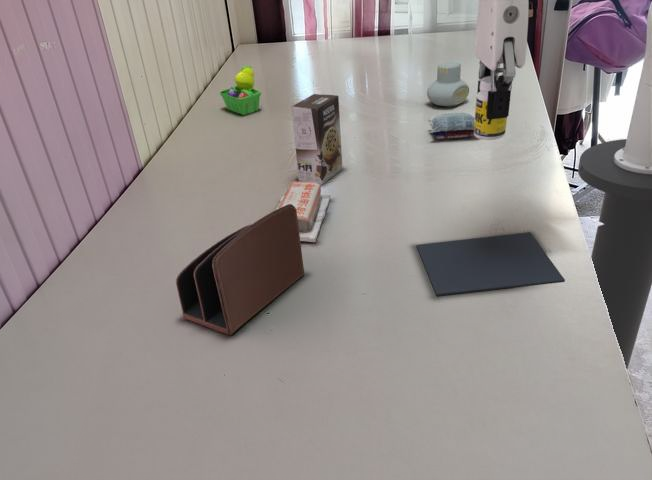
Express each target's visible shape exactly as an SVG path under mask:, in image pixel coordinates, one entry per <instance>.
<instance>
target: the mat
mask: <svg viewBox="0 0 652 480" xmlns="http://www.w3.org/2000/svg"><path fill="white" fill-rule="evenodd" d="M416 249H417V252H418V254H419V257H420V259H421V261H422V264H423V266H424V268H425V269H424V270H425V271H426V274H427V276H428V278H429V281H430V283H431V286H432V288H433V291H434V293H435V295H436V297H441V296H450V295H451V296H453V295H461V294H468V293H469V294H470V293H478V292H486V291H487V292H488V291H496V290H507V289H514V288H522V287H523V288H524V287H532V286H542V285H550V284H551V285H552V284H560V283H565V282H566V279H565V278H564V276H563V275H562V273H561V272H560V271H559V270H558V268H557V267H556V265H555V264H554V263H553V261H552V260H551V259H550V257H549V255H548V254H547V253H546V252H545V250H544V249H543V248H542V246H541V245H540V243H539V242H538V240H537V239H536V238H535V237H534V235H533V234H532V233H531V231H529V232H518V233H510V234H502V235H493V236H483V237H475V238H466V239H465V238H464V239H457V240H448V241H447V240H446V241H438V242H429V243H422V244H421V243H420V244H416Z"/></svg>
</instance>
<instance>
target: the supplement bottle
mask: <svg viewBox="0 0 652 480" xmlns="http://www.w3.org/2000/svg"><path fill="white" fill-rule="evenodd" d="M499 76H500V75H498V76H497V80H498V77H499ZM488 91H491V76H488V77H484V78H482V79H481V81H480V92H479V93H478V94H476V101H475V113H474V115H475V116H474V118H475V124H474V135H473V136H474V137H475V138H477V139H478V140H483V141H484V140H485V141H494V140H499V139H501V138H503V137H504V136H505V135H506V129H507V119H508V117H507V118H499V119H490V120H489V119H487V118H486V111H487V99H488Z"/></svg>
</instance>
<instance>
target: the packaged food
mask: <svg viewBox="0 0 652 480" xmlns="http://www.w3.org/2000/svg"><path fill="white" fill-rule="evenodd" d="M427 121H428V122H429V123H428V124H429V126H431V129H432V130H431V131H430V132H429V134H430V135H432V137H433V136H434V138H436V139H438V140H439V139H440V140H441V139H443V140H444V139H458V138H459V139H460V138H461V139H462V138H468V137H472V136H475V135H474V124H475V116H473V115H472V114H470V113H468V112H467V113H466V112H451V113H450V112H449V113H443V114H440V115H436V116H435V117H433V118H431V119H429V118H428V120H427Z"/></svg>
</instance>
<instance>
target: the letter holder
mask: <svg viewBox="0 0 652 480" xmlns="http://www.w3.org/2000/svg"><path fill="white" fill-rule="evenodd" d="M301 244H302V243H301V241H300V234H299V226H298V218H297V211H296V208H295V207H294V206H293V205H292V204H289V205H286V206H283V207H281V208H279V209H277V210H276V209H275V210H273V211H271V212H270V213H268V214H266V215H264V216H262V217H261V218H260V219H257V220H256V221H255V222H254V223H252V224H248V225H245V226H243V227H241V228H239V229H238V230H236V231H234V232H232V233H230V234H228V235H226V236H225V237H224V238H222V239H220V240H219V241H218V242H216V243H214V244H213V245H212V246H210V247H209V248H207V249H206V250H205V251H203V252H202V253H200V254H199V255H198V256H196V258H194V259H193V260H192V261H190V263H188V264H187V265H186V266H185V267H184V268H183V269H182V270H181V271H180V272H179V273H178V275H177V276H176V279H175V285H176V290H177V294H178V299H179V303H180V307H181V312H182V317H183V319H184V320H188V321H190V322H193V323H196V324H198V325H201V326H204V327H205V328H206V327H207V328H209V329H211V330H215V331H217V332H220V333H222V334H225V335H227V336H232V335H233V334H234V333H235V332H237V330H239V329H240V328H241V327H242V326H243V325H245V324H246V323H247V322H248V321H249V320H250V319H252V318H253V317H254V316H255V315H256V314H258V313H259V312H260V311H262V310H263V309H264V308H265V307H267V306H268V305H269V304H270V303H272V302H273V301H274V300H275V299H277V298H278V297H279V296H280V295H281V294H282V293H284V292H285V291H286V290H288V288H290V287H291V286H292V285H294V283H296V282H297V281H298V280H299V279H301V278H302V277H303V276H304V275H305V267H304V261H303V260H304V259H303V252H302V245H301Z"/></svg>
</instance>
